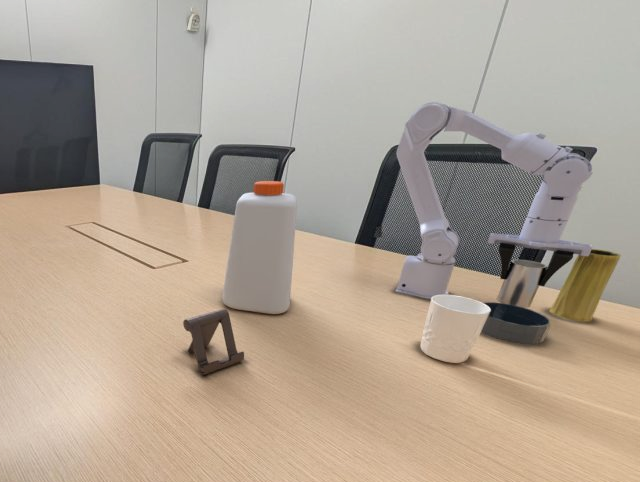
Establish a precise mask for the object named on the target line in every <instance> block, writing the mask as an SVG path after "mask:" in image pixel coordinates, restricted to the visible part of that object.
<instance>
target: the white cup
mask: <svg viewBox="0 0 640 482" xmlns="http://www.w3.org/2000/svg"><path fill="white" fill-rule="evenodd" d="M490 311H491V309H490V307H489V306H487V305H486V304H484V303H483V302H481V301H479V300H476V299H474V298H470V297H467V296H462V295H455V294H448V295H435V296H433V297H432V298H431V299H430V302H429V305H428V310H427V314H426V317H425V321H424V326H423V331H422V337H421V341H420V344H419V345H420V349H421V352H422V353H424V354H425V355H426V356H429V357H430V358H433V359H435V360H438V361H442V362H445V363H452V364H461V363H463V362H465V361H466V360H468V359H469V357H470V355H471V352H472V350H473V348H474V347H475V346H476V343H477V340H478V339H479V337H480V335H481V334H482V333H481V331H482V329H483V327H484V324H485V322H486V320H487V318H488V316H489V314H490Z"/></svg>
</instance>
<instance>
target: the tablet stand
mask: <svg viewBox="0 0 640 482" xmlns="http://www.w3.org/2000/svg"><path fill="white" fill-rule="evenodd" d="M182 323H183V324H182V325H183V328H184V330H185V331H186V332H189V333H190V335H191V338H192V340H191V342H190V344H189V346H188V349H187V353H192V352H194V353H195V359H196V363H197V368H198V371H199V373H200V375H202V376H205V375H208V374H211V373H213V372H216V371H218V370H221V369H224V368H226V367H230V366H232V365H234V364H238V363H241V362H243V361H245V351H239V352H238V350H237V346H236V341H235V336H234V332H233V327H232V322H231V316H230V313H229V311H228V310H227V309H226V308H221V309H217V310H214V311H210V312H206V313H203V314H200V315H196V316H192V317H189V318H186V319H184V320H183V322H182ZM219 324H220V325H221V329H222V334H223V337H224V342H225V347H226V352H227V357H226V358H223V359H220V360H219V359H217V360H214V361H212V362H209V361H208V357H207V352H206V348H207V347H209V345H210V343H211V341H212V339H213V337H214V335H215V333H216V331H217V328H218V326H219Z"/></svg>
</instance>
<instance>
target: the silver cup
mask: <svg viewBox="0 0 640 482" xmlns="http://www.w3.org/2000/svg"><path fill="white" fill-rule="evenodd" d="M547 267H548V265H547V264H545V263H542V262H538V261H534V260H528V259H511V261H510V263H509V267H508V271H507V274H506V277H505V279H503V281H502V284H501V286H500V289H499V291H498V294H497V297H496V301H497V302H498V303H504V304H510V305H515V306H520V307H523V308H527V309H528V308H530V307H531V306H532V303H533V301H534V299H535V297H536V295H537V292H538V290H539V287H540V286H539V285H540V282H541V280H542V278H543V276H544V274H545V271H546V269H547Z"/></svg>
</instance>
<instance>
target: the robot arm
mask: <svg viewBox="0 0 640 482" xmlns="http://www.w3.org/2000/svg"><path fill="white" fill-rule="evenodd" d="M442 131H443V132H461V133H465V134H467V135H469V136H471V137H473V138H475V139H478V140H480V141H482V142H484V143H486V144H488V145H490V146H493V147H495V148H497V149H498V150H501V160H503V161H504V162H507V163H509V164H511V165H513V166H515V167H517V168H519V169H520V170H523V171H525V172H527V173H529V174H531V175H532V176H541V177H542V179H543V180H542V181H541V184H540V185H539V188H538V191H537V192H536V193H535V194H534V198H533V199H532V203H531V205H530V208H529V209H528V212H527V216H526V218H525V221H524V224H523V225H522V229H521V231H520V233H519V234H506V233H494V232H491V233H490V235H489V237H488V240H487V244H489V245H491V244H493V245H494V244H495V245H499V246H498V247H497V248H498V253H499V258H500V262H501V263H500V264H501V274H500V278H499V279H500V280H504V279H505V277H506V274H507V271H508V268H509V265H510V263H511V261H512V258H513V256H514V253H515V250H516V247H520V248H526V249H535V250H541V251H549V252H553V253H552V255H551V258H550V260H549V263H548V265H547V269H546V271H545V274H544V276H543V278H542V280H541V282H540V285H539V287H545V286H546V284H547V283H548V281H549V280H550V279H551V278H552V276H554V275H555V274H556V273H557V272H558V271H559V270H560V269H561V268H563V266H565V265H566V264H568V263H569V262H570V261H571V260H573V258H574V255H578V254H579V255H581V256H589V254H590V252H591V250H592V249H594V246H593V244H589V243H581V242H575V241H568V240H562V239H561V238H562V236H563V234H564V231H565V229H566V227H567V224H568V222H569V219H570V217H571V215H572V212H573V210H574V208H575V206H576V203H577V201H578V199H579V195H578V194H579V193H580V192H581V190H582V185H583V184H584V183H585V182H587V181H588V180H589V179H590V178H591V177H592V175H593V172H592V170H593V165H592V164H591V160H589V159H588V158H586V157H584V156H582V155H580V153H575V152H573V148H572V147H569V146H565V147H562V146H560V145H558V144H556V143H554V142H552V141H550V140H548V139H545V138H546V137H547V136H546V134H544V133H542V132H537V133H536V134H535V133H533V132H524V133H520V134H515V133H512V132H510V131H508V130H506V129H504V128H503V127H501V126H498V124H497V125H496V124H495V123H492V122H491V121H490V120H488V119H485V118H483V117H481V116H479V115H478V114H475V113H473V112H471V111H468V110H465V109H461V108H457V107H453V106H448V105H447V104H444V103H441V102H438V101H429V102H426V103H423V104H422V105H420V106H418V107H417V108H416V109H415V110H414V111H413V113H412V114H410V116H409V117H408V119H407V120H406V122H405V123H404V128H403V132H402V134H401V137H400V141H399V143H398V146H397V149H396V158H397V161H398V164H399V166H400V170H401V173H402V176H403V179H404V182H405V185H406V188H407V191H408V194H409V196H410V200H411V202H412V206H413V208H414V212H415V215H416V217H417V220H418V223H419V231H420V238H421V241H422V243H421V247H420V252H419V253H418V254H417V255H407V256H406V258H405V259H404V262H403V265H402V268H401V272H400V276H399V279H398V283H397V286H396V289H395V292H396V293H401V294H405V295H409V296H414V297H418V298H423V299H427V300H431V298H432V297H433V296H435V295H450V291H448V290H447V289H448V286H449V283H450V280H451V278H452V274H453V272H454V269H455V265H456V261H457V260H456V258H455V257H454V256H455V255H456V254H457V250H458V247H459V245H460V241H461V240H460V239H461V238H460V236H459V234H458V233H457V232H456V231H455V230H454V229H452V227H451V225H450V222H449V220H448V219H447V217H446V215H445V212H444V209H443V207H442V203H441V200H440V197H439V194H438V191H437V188H436V186H435V182H434V179H433V176H432V173H431V171H430V168H429V164H428V161H427V158H426V155H425V151H426V150H427V148H428V146H429V145H430V144H431V143H432V141H433V139H434V138H435V137H436V136H437V135H439V134H440V133H441V132H442Z"/></svg>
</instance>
